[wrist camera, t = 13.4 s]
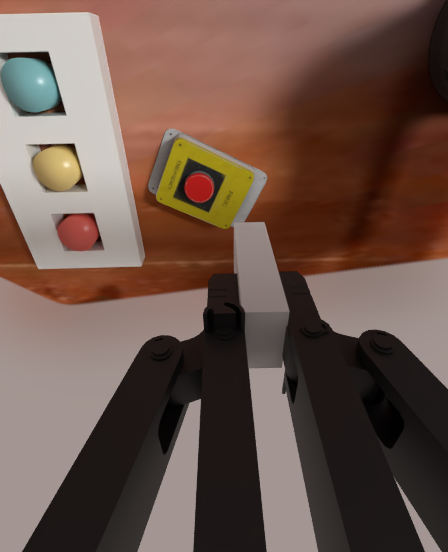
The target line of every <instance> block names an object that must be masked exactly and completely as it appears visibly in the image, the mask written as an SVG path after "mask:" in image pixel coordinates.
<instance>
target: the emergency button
mask: <svg viewBox="0 0 448 552" xmlns="http://www.w3.org/2000/svg"><path fill="white" fill-rule="evenodd" d="M266 182H267V176H266V174H265V173H264V172H263V171H261V170H259V169H257V168H254V167H252V166H250V165H248V164H246V163H244V162H242V161H240V160H238V159H236V158H234V157H232V156H230V155H228V154H226V153H223V152H221V151H219V150H217V149H215V148H213V147H211V146H209V145H207V144H205V143H203V142H201V141H199V140H197V139H195V138H193V137H190V136H188V135H186V134H184V133H182V132H180V131H178V130H176V129H172V128H171V129H168V130H167V131H166V132H165V134H164V138H163V141H162V144H161V147H160V150H159V153H158V156H157V159H156V162H155V165H154V168H153V171H152V174H151V177H150V180H149V183H148V189H149V190H150V192H152V193H153V194H155V195H156V199H157V201H158V202H160V203H162V204H164V205H167V206H169V207H172V208H174V209H176V210H179V211H181V212H184V213H186V214H188V215H191V216H193V217H196V218H198V219H201V220H203V221H205V222H208V223H210V224H213V225H215V226H217V227H220V228H222V229H227V228H229V227H230V226H232V227H234V223H242V222H245V220H246V218H247V216H248V215H249V213H250V211H251V209H252V207H253V205H254V204H255V202H256V200H257V198H258V196H259V194H260V193H261V191H262V189H263V187H264V185H265V183H266Z"/></svg>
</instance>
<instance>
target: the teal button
mask: <svg viewBox="0 0 448 552" xmlns="http://www.w3.org/2000/svg"><path fill="white" fill-rule="evenodd" d="M1 82H2V85H3V88H4V90H5V92H6V94H7V96H8V97H9V98H10V100H11V101H12V102H13V103H14V104H15V105H17V106H18V107H19V108H21V109H23V110H25V111H28V112H34V113H35V112H41V111H44V110H48V109H51V108H54V107H57V106H58V105H59V104H60V103H61V102H62V97H61V94H60V90H59V86H58V83H57V79H56V76H55V72H54V69H53V66H52V65H50V64H49V63H48V62H46V61H44V60H42V59H38V58H12V59H10V60H8V61H7V62H6V63H5V64H4V65H3V67H2V70H1Z"/></svg>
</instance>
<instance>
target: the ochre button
mask: <svg viewBox="0 0 448 552" xmlns="http://www.w3.org/2000/svg"><path fill="white" fill-rule="evenodd" d="M33 168H34V172H35V174H36V176H37V178H38V179H39V180H40V181H41V182H42V183H43V184H44V185H45V186H46V187H48V188H50V189H52V190H56V191H65V190H68V189H70V188H71V187H72V186H73V185H74V184H76V183H77V182H78V181H79V180H80V179H81V178H82V177H83V176H84V175H83V172H82V168H81V165H80V161H79V158H78V154H77V150H75V149H74V148H73V147H71V146H69V145H66V144H55V145H53V146H51V147H49V148H47V149H45V150H43V151H41V152H39V153H38V154H37V155H36V156H35V158H34V161H33Z"/></svg>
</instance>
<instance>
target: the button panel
mask: <svg viewBox="0 0 448 552" xmlns="http://www.w3.org/2000/svg"><path fill="white" fill-rule="evenodd" d="M35 52H49V55H50V58H51V62H52V65H53V69H54V72H55V76H56V79H57V83H58V86H59V90H60V94H61V97H62V101H63V104H64V108H65V111H66V112H59V113H28V112H27V111H25V110H23V109H21V108H19V107H18V106H17V105H15V104H14V103H13V102H12V101H11V100H10V98H9V97H8V96H7V94H6V92H5V90H4V88H3V85H2V82H1V70H2V67H3V65H4V64H5V63H6V62H7V61H8V60H9V57H8V54H7V53H35ZM68 143H75V147H76V150H77V154H78V158H79V161H80V165H81V168H82V172H83V175H84V179H85V182H86V184H84V185H73V186H72V187H71V188H70V189H68V190H65V191H56V190H52V189H50V188H48V187H46V186H45V185H44V184H43V183H42V182H41V181H40V180H39V179H38V178H37V176H36V174H35V172H34V168H33V161H34V158H35V156H36V155H37V154H38V153H39V152H41V150H40V147H39V144H68ZM0 184H1V186H2V188H3V191H4V193H5V195H6V197H7V200H8V202H9V204H10V206H11V209H12V211H13V213H14V215H15V218H16V220H17V222H18V224H19V227H20V229H21V231H22V233H23V236H24V238H25V240H26V242H27V245H28V247H29V249H30V251H31V254H32V256H33V258H34V261H35V263H36V265H37V267H38V269H61V268H100V267H139V266H142V264H143V261H144V259H145V252H144V247H143V242H142V236H141V231H140V226H139V221H138V216H137V211H136V206H135V201H134V196H133V190H132V185H131V180H130V175H129V170H128V165H127V160H126V155H125V150H124V144H123V139H122V134H121V129H120V124H119V119H118V114H117V109H116V103H115V98H114V93H113V88H112V83H111V78H110V73H109V68H108V63H107V57H106V52H105V47H104V42H103V37H102V32H101V27H100V22H99V17H98V16H97V15H95V14H92V13H89V12H81V13H38V14H0ZM69 213H94V214H95V218H96V222H97V225H98V229H99V232H100V236H101V239H102V241H96V242H95V243H94V245H93V246H92V247H91V248H90V249H89V250H86V251H75V250H72V249H70V248H68V247H66V246H65V245H64V244H63V243H62V242H61V241H60V239H59V237H58V233H57V231H58V227H59V225H60V224H61V223H62V222H63V221H64V220H65V219H64V216H63V214H69Z"/></svg>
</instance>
